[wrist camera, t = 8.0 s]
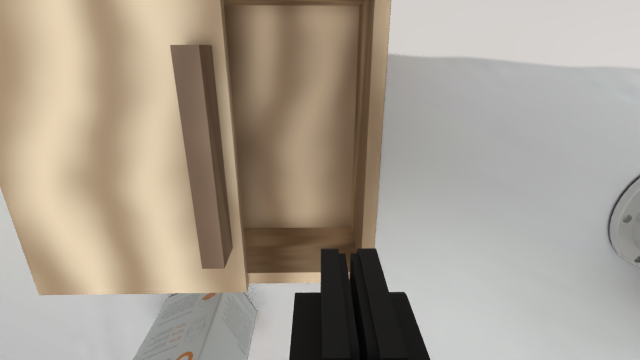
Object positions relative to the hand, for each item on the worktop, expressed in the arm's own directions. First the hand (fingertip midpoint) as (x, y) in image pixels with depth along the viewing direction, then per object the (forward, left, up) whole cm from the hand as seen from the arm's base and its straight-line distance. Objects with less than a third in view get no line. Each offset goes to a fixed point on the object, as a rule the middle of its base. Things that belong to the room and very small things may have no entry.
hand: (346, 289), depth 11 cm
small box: (+12, +20, -23) cm, 33 cm away
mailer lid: (+14, 0, -14) cm, 20 cm away
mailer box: (+4, 0, -23) cm, 23 cm away
